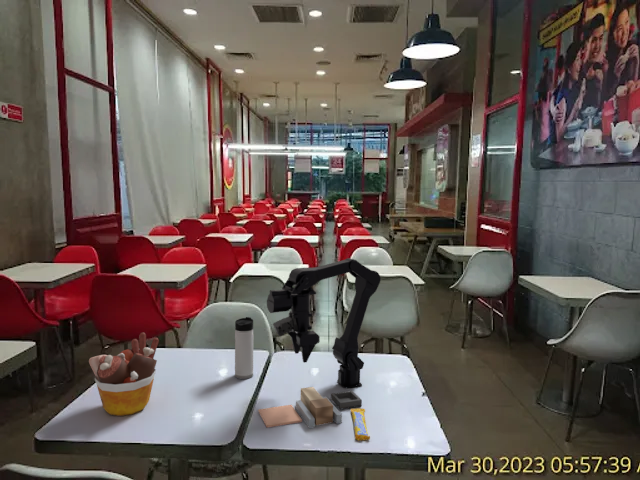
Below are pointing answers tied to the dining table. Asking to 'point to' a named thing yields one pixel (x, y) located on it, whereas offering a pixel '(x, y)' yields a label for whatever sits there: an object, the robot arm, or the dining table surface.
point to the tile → (279, 415)
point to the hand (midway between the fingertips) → (300, 357)
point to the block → (321, 411)
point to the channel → (309, 418)
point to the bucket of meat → (126, 377)
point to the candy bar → (359, 424)
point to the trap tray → (346, 400)
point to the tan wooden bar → (309, 396)
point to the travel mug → (244, 348)
